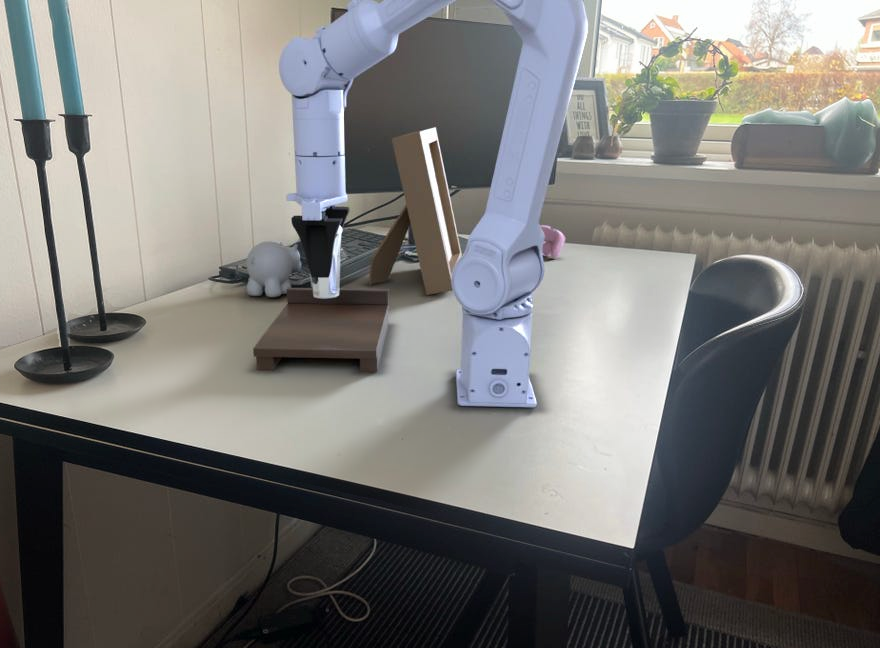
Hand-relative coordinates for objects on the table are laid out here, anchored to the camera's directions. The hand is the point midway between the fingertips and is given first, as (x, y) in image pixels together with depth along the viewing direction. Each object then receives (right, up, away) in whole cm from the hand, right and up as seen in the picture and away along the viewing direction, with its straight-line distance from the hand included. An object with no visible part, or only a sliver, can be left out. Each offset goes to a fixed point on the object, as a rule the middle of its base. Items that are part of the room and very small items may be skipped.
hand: (324, 271), depth 86 cm
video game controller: (+37, +10, +58) cm, 70 cm away
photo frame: (+12, +3, +39) cm, 41 cm away
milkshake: (0, -3, +1) cm, 3 cm away
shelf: (0, -9, +4) cm, 10 cm away
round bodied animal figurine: (-10, 0, +30) cm, 32 cm away
